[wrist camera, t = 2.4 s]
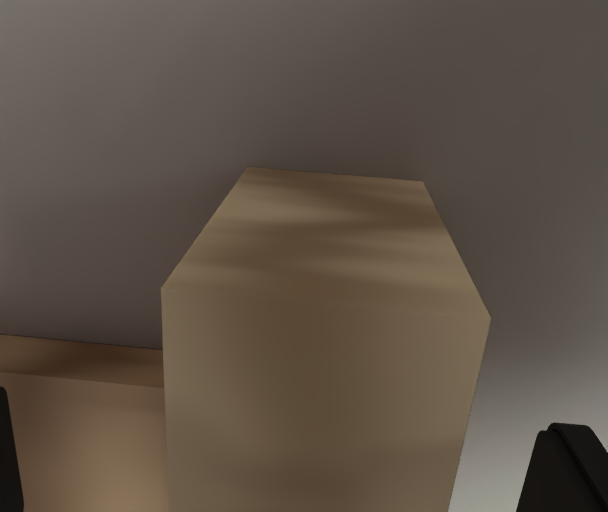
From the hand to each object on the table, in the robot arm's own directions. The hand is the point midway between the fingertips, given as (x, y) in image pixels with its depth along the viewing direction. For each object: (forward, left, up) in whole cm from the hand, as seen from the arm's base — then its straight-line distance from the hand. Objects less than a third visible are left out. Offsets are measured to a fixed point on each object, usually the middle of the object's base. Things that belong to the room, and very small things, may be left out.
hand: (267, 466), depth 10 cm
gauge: (-1, +4, -8) cm, 9 cm away
